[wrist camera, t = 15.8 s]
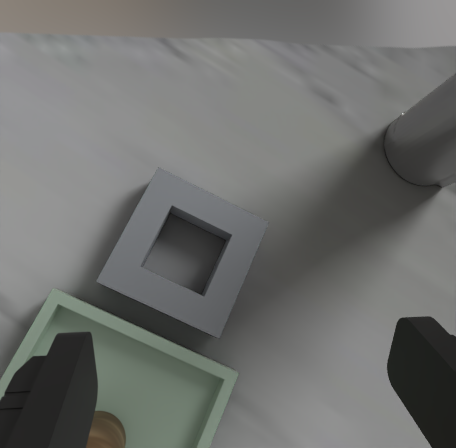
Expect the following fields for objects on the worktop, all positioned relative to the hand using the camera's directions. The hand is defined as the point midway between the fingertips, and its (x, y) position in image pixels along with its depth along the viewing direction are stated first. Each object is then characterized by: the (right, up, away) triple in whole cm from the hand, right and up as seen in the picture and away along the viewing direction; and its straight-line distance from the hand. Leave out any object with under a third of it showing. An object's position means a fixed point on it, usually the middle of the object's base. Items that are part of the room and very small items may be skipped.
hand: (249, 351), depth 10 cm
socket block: (-5, 0, +29) cm, 29 cm away
